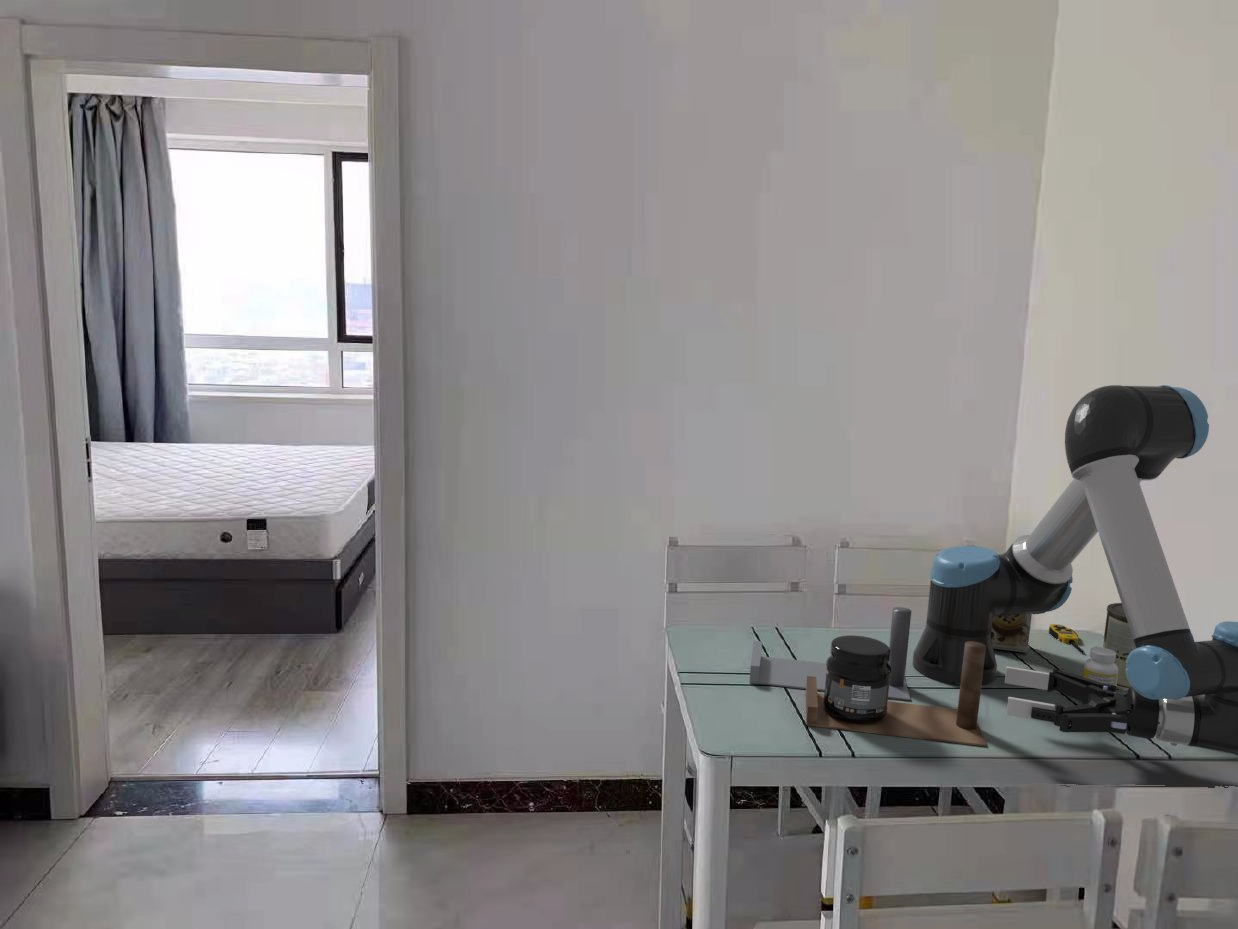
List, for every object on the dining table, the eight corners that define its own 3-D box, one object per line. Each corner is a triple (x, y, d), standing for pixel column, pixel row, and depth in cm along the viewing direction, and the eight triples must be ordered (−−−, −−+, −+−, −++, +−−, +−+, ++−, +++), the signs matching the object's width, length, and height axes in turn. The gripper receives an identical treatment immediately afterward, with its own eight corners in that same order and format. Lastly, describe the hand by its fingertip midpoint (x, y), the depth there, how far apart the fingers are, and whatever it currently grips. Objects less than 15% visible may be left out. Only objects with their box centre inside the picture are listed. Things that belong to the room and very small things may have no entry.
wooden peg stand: (971, 712, 161) (980, 632, 159) (986, 746, 149) (996, 660, 146) (805, 693, 166) (811, 616, 164) (806, 725, 153) (813, 642, 151)
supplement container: (855, 695, 165) (861, 630, 163) (900, 719, 156) (907, 651, 154) (809, 706, 160) (814, 639, 158) (853, 731, 151) (859, 661, 149)
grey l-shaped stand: (902, 672, 177) (909, 600, 175) (910, 700, 165) (918, 622, 162) (752, 656, 182) (757, 585, 180) (749, 683, 170) (754, 607, 167)
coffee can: (1088, 670, 183) (1098, 600, 181) (1144, 674, 182) (1154, 604, 180) (1110, 691, 173) (1121, 618, 170) (1169, 696, 172) (1180, 622, 170)
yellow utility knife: (1067, 623, 206) (1096, 647, 191) (1066, 631, 206) (1095, 656, 191) (1044, 622, 206) (1071, 646, 191) (1043, 630, 206) (1070, 655, 192)
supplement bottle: (1086, 694, 171) (1093, 643, 170) (1118, 704, 167) (1125, 651, 166) (1075, 702, 167) (1082, 650, 166) (1107, 712, 164) (1114, 659, 162)
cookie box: (980, 648, 191) (988, 570, 190) (976, 639, 198) (983, 564, 196) (1028, 653, 189) (1037, 574, 188) (1022, 644, 196) (1030, 568, 194)
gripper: (1167, 774, 133) (1005, 744, 140) (1140, 706, 156) (1002, 683, 163) (1174, 724, 132) (1011, 696, 139) (1146, 663, 155) (1007, 642, 162)
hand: (1006, 689), depth 151 cm, fingers open, 13 cm apart
